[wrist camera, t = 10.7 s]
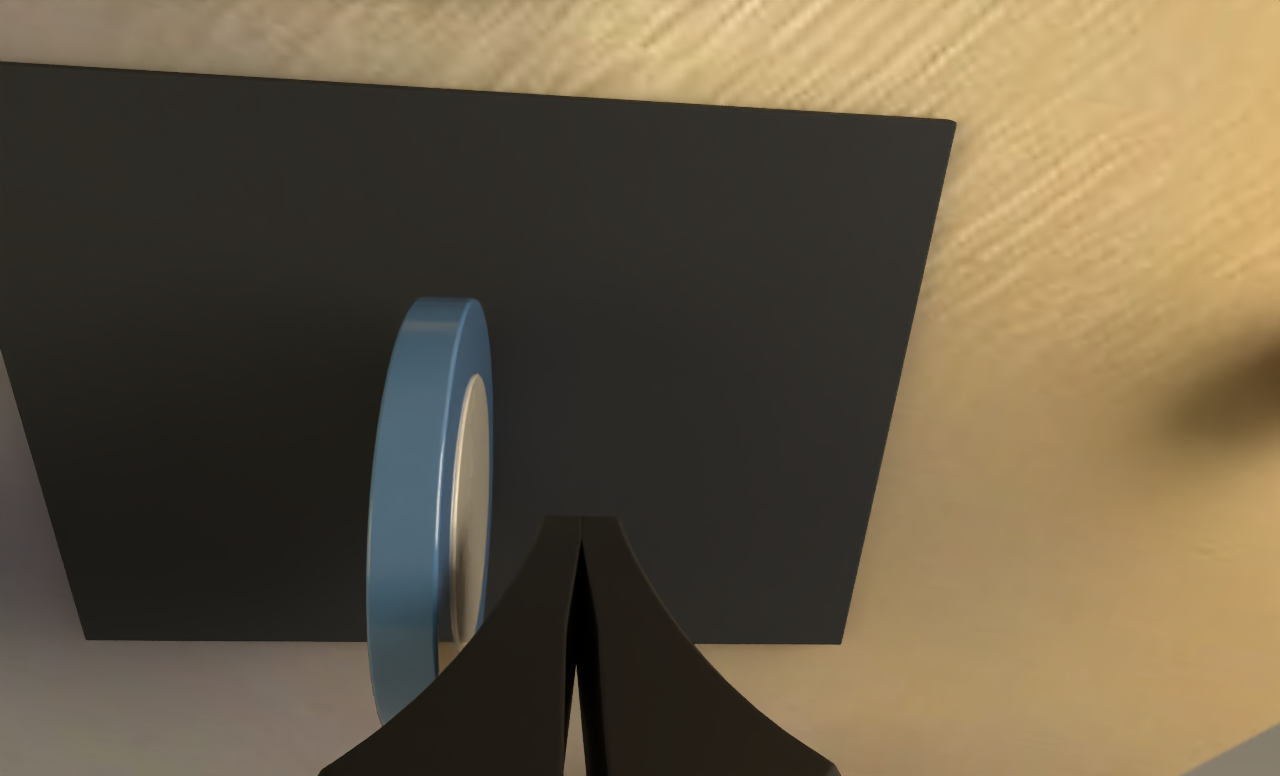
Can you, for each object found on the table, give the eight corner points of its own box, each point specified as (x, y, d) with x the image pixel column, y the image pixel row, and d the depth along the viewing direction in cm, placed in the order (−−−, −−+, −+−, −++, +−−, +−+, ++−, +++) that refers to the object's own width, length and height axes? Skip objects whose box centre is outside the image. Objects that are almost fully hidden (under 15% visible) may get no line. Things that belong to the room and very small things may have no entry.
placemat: (93, 630, 22) (85, 640, 21) (-71, 56, 16) (-87, 57, 15) (837, 635, 23) (841, 645, 23) (950, 119, 17) (957, 122, 17)
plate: (453, 547, 21) (385, 849, 14) (439, 239, 17) (336, 433, 10) (497, 548, 21) (452, 849, 14) (493, 241, 17) (428, 435, 10)
